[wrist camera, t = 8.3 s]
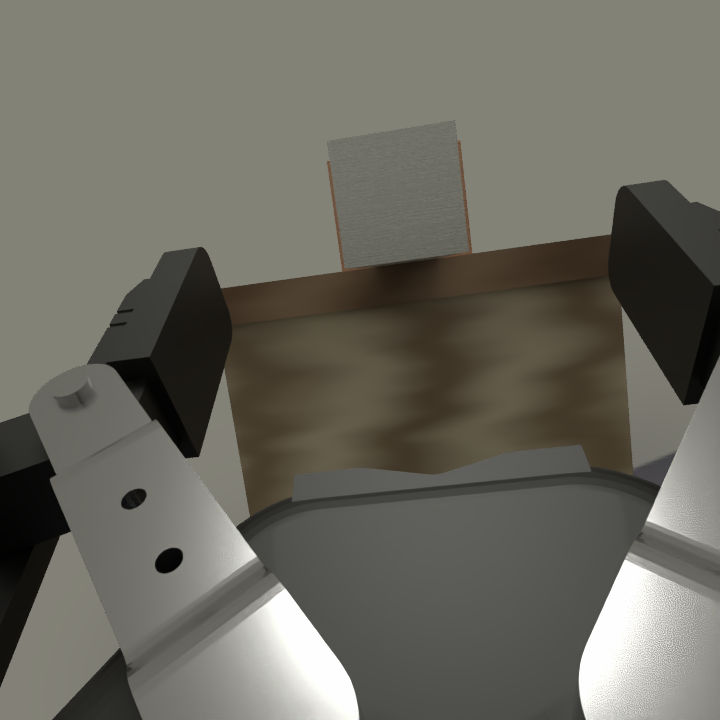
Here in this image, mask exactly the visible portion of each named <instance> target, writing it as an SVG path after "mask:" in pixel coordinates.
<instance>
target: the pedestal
mask: <svg viewBox="0 0 720 720" xmlns="http://www.w3.org/2000/svg"><path fill="white" fill-rule="evenodd" d="M610 242H611V235H604V236H597V237H589V238H582V239H575V240H568V241H561V242H554V243H546V244H539V245H532V246H524V247H518V248H511V249H503V250H496V251H489V252H481V253H474V254H467V255H459V256H452V257H445V258H438V259H431V260H423V261H416V262H409V263H402V264H395V265H387V266H380V267H373V268H366V269H358V270H351V271H344V272H337V273H330V274H323V275H316V276H308V277H301V278H294V279H287V280H279V281H272V282H265V283H258V284H250V285H243V286H236V287H230V288H223V289H222V288H221V291H222V293H223V296H224V299H225V302H226V304H227V307H228V310H229V313H230V317H231V323H232V341H231V345H230V348H229V352H228V355H227V359H226V362H225V366H224V368H225V374H226V380H227V386H228V392H229V397H230V403H231V409H232V415H233V421H234V426H235V432H236V438H237V444H238V449H239V455H240V461H241V466H242V472H243V478H244V484H245V489H246V496H247V501H248V507H249V513H250V517H251V516H252V515H254V514H256V513H257V512H259V511H261V510H263V509H264V508H266V507H268V506H270V505H272V504H275V503H277V502H279V501H281V500H284V499H287V498H290V497H292V492H293V483H294V475H296V474H306V473H315V472H325V471H334V470H344V469H353V468H371V469H381V470H391V471H400V472H410V473H419V474H431V475H434V474H441V473H445V472H448V471H451V470H454V469H457V468H460V467H464V466H467V465H470V464H473V463H476V462H479V461H482V460H485V459H488V458H492V457H495V456H498V455H501V454H504V453H507V452H515V451H524V450H534V449H543V448H553V447H562V446H572V445H581V446H582V448H583V451H584V453H585V456H586V458H587V461H588V464H589V466H590V467H598V468H604V469H609V470H614V471H619V472H622V473H626V474H629V475H633V465H632V452H631V439H630V438H631V437H630V424H629V408H628V394H627V382H626V381H627V380H626V368H625V367H626V366H625V352H624V337H623V323H622V309H621V304H620V302H619V301H618V299H617V298H616V296H615V294H614V293H613V291H612V288H611V285H610V281H609V275H608V258H609V250H610Z"/></svg>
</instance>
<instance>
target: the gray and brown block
mask: <svg viewBox="0 0 720 720" xmlns="http://www.w3.org/2000/svg"><path fill="white" fill-rule="evenodd" d="M327 144H328V151H329V159H330V161H328V162H327V164H328V171H329V178H330V186H331V193H332V200H333V208H334V215H335V222H336V229H337V236H338V243H339V250H340V258H341V264H342V272H344V271H351V270H358V269H366V268H373V267H380V266H387V265H395V264H402V263H409V262H416V261H423V260H431V259H438V258H445V257H452V256H459V255H467V254H472V247H471V238H470V228H469V219H468V210H467V200H466V191H465V181H464V172H463V163H462V153H461V144H460V141H457V134H456V125H455V121H449V122H442V123H436V124H430V125H424V126H418V127H411V128H405V129H399V130H393V131H386V132H381V133H374V134H368V135H362V136H356V137H349V138H343V139H337V140H331V141H327Z"/></svg>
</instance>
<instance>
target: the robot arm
mask: <svg viewBox="0 0 720 720" xmlns="http://www.w3.org/2000/svg"><path fill="white" fill-rule="evenodd" d="M608 275H609V281H610V285H611V288H612V291H613V293H614V294H615V296H616V298H617V299H618V301H619V302H620V304H621V306H622V307H623V309H624V310H625V312H626V314H627V315H628V317H629V318H630V320H631V321H632V323H633V325H634V327H635V328H636V330H637V331H638V333H639V335H640V336H641V338H642V339H643V341H644V343H645V344H646V346H647V348H648V349H649V351H650V352H651V354H652V356H653V357H654V359H655V360H656V362H657V363H658V365H659V367H660V368H661V370H662V371H663V373H664V375H665V376H666V378H667V380H668V381H669V383H670V385H671V386H672V388H673V389H674V391H675V393H676V394H677V396H678V397H679V399H680V400H681V402H682V404H683V405H690V404H698V406H697V408H696V410H695V413H694V415H693V417H692V419H691V421H690V424H689V426H688V428H687V431H686V433H685V435H684V438H683V439H682V442H681V444H680V446H679V448H678V451H677V453H676V455H675V457H674V460H673V462H672V464H671V466H670V469H669V471H668V473H667V475H666V478H665V480H664V482H663V484H662V487H660V486H658V485H656V484H654V483H651V482H649V481H646V480H644V479H641V478H639V477H636V476H633V475H629V474H626V473H622V472H619V471H614V470H609V469H604V468H598V467H590V466H589V464H588V461H587V458H586V456H585V453H584V451H583V448H582V446H581V445H572V446H562V447H553V448H543V449H534V450H524V451H515V452H507V453H504V454H501V455H498V456H495V457H492V458H488V459H485V460H482V461H479V462H476V463H473V464H470V465H467V466H464V467H460V468H457V469H454V470H451V471H448V472H445V473H441V474H434V475H431V474H419V473H410V472H400V471H391V470H381V469H371V468H353V469H344V470H334V471H325V472H315V473H306V474H296V475H294V483H293V492H292V497H290V498H287V499H284V500H281V501H279V502H277V503H275V504H272V505H270V506H268V507H266V508H264V509H263V510H261V511H259V512H257V513H256V514H254V515H252V516H251V517H249V518H248V519H247V520H245V521H244V522H242V523H241V524H239V525H238V526H237V527H235V526H234V525H233V523H232V522H231V520H230V519H229V518H228V516H227V515H226V514H225V512H224V511H223V509H222V508H221V507H220V505H219V504H218V503H217V501H216V500H215V499H214V497H213V496H212V494H211V493H210V492H209V490H208V489H207V488H206V486H205V485H204V484H203V482H202V481H201V479H200V478H199V477H198V475H197V474H196V473H195V471H194V470H193V469H192V467H191V466H190V464H189V463H188V462H187V460H186V459H185V458H193V457H199V455H200V452H201V448H202V445H203V441H204V438H205V434H206V430H207V427H208V423H209V419H210V416H211V412H212V409H213V405H214V402H215V398H216V395H217V391H218V387H219V384H220V380H221V377H222V373H223V370H224V366H225V362H226V359H227V355H228V352H229V348H230V345H231V341H232V323H231V317H230V313H229V310H228V307H227V304H226V302H225V299H224V296H223V293H222V291H221V288H220V285H219V282H218V280H217V277H216V274H215V271H214V268H213V266H212V263H211V260H210V258H209V255H208V253H207V252H206V250H205V249H204V248H202V247H197V248H191V249H184V250H178V251H170V252H165V253H164V254H163V255H162V257H161V259H160V261H159V263H158V265H157V267H156V268H155V270H154V272H153V274H152V276H151V278H150V279H145V280H143V281H142V282H141V283H140V284H138V285H137V286H136V287H135V288H134V289H133V290H131V291H130V292H129V293H128V294H127V295H126V296H125V298H124V300H123V301H122V303H121V305H120V307H119V308H118V311H117V313H118V314H115V316H114V318H113V319H112V321H111V323H110V328H107V330H106V331H105V333H104V335H103V337H102V338H101V341H100V342H99V344H98V346H97V347H96V349H95V351H94V353H93V354H92V356H91V358H90V360H89V361H88V363H87V365H83V366H79V367H76V368H73V369H71V370H68V371H66V372H64V373H62V374H60V375H58V376H56V377H54V378H53V379H52V380H50V381H49V382H47V383H46V384H45V385H44V386H43V387H41V389H40V390H39V391H38V392H37V393H36V394H35V395H34V397H33V399H32V400H31V403H30V406H29V413H28V414H25V415H22V416H19V417H16V418H13V419H10V420H7V421H4V422H1V423H0V686H1V684H2V682H3V679H4V676H5V674H6V671H7V669H8V666H9V664H10V661H11V659H12V656H13V654H14V651H15V649H16V646H17V643H18V641H19V639H20V636H21V633H22V631H23V628H24V626H25V623H26V621H27V618H28V616H29V613H30V611H31V608H32V606H33V603H34V601H35V598H36V596H37V593H38V590H39V588H40V585H41V583H42V580H43V578H44V575H45V573H46V570H47V568H48V565H49V563H50V560H51V557H52V555H53V553H54V550H55V547H56V545H57V542H58V540H59V537H60V535H63V534H66V533H68V532H72V535H73V537H74V539H75V542H76V544H77V546H78V549H79V551H80V554H81V556H82V558H83V561H84V563H85V565H86V568H87V570H88V572H89V575H90V577H91V580H92V582H93V584H94V587H95V589H96V591H97V594H98V596H99V599H100V601H101V603H102V606H103V608H104V610H105V613H106V615H107V617H108V620H109V622H110V625H111V627H112V629H113V631H114V634H115V636H116V639H117V641H118V643H119V646H120V648H119V649H118V650H117V652H116V653H115V654H114V655H113V656H112V657H111V658H110V659H109V660H108V661H107V662H106V663H105V664H104V665H103V667H101V669H100V670H99V671H98V672H97V673H96V674H95V675H94V676H93V677H92V678H91V679H90V680H89V681H88V682H87V683H86V684H85V686H84V687H83V688H82V689H81V690H80V691H79V692H78V693H77V694H76V695H75V696H74V697H73V698H72V699H71V700H70V701H69V703H68V704H67V705H66V706H65V707H64V708H63V709H62V710H61V711H60V712H59V713H58V714H57V715H56V716H55V717H54V719H52V720H720V211H717V210H715V209H712V208H710V207H708V206H705V205H703V204H700V203H698V202H693V203H690V202H689V201H688V200H687V199H686V198H684V197H683V196H682V195H681V194H680V193H679V192H678V191H677V190H676V189H675V188H674V187H673V186H672V185H671V184H670V183H669V182H668V181H666V180H661V181H654V182H647V183H641V184H634V185H627V186H622V187H621V188H620V189H619V191H618V194H617V197H616V202H615V209H614V218H613V227H612V234H611V242H610V250H609V258H608Z"/></svg>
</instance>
